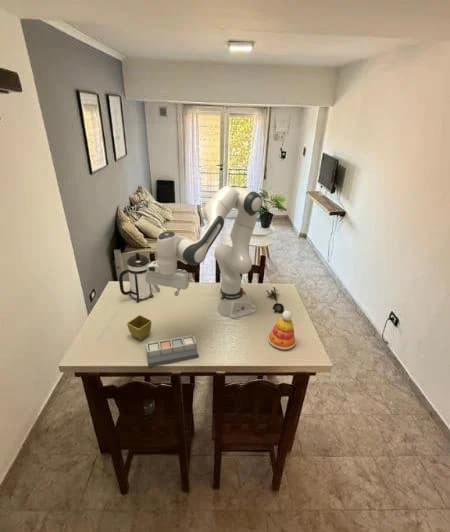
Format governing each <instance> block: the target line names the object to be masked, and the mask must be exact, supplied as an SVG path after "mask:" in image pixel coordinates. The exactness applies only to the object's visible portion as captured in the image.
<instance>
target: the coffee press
mask: <svg viewBox="0 0 450 532" xmlns="http://www.w3.org/2000/svg"><path fill="white" fill-rule="evenodd" d="M150 263H151V260H150V258H149V257H148V256H147V255H144V254H140V252H136V253H135V254H133V255H130V256H128V258H127V260H126V264H127V269H124V270H123V271H121V273H120V274H119V276H118V282H119V290H120V293H121V294H122V295H124V296H129V297H132V298H134V299H136V304H137V303H138V304H139V303H140V301H141V300H142V299H143V300H144V299H147V298H149V297H150V298H151V299H153V297H154V294H153V293H152V284H149V283H147V282H146V280H145V275H146V271H147V266H148V265H149V264H150ZM126 274H128V279H129V287H130V288H129V290H128V291H125V290H124V282H123V277H124V276H125V275H126Z"/></svg>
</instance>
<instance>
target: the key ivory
mask: <svg viewBox="0 0 450 532" xmlns="http://www.w3.org/2000/svg"><path fill="white" fill-rule="evenodd" d="M190 343H193V340H192V338H187V339H184V344H190Z"/></svg>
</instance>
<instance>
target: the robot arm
mask: <svg viewBox="0 0 450 532" xmlns="http://www.w3.org/2000/svg"><path fill="white" fill-rule="evenodd" d="M262 206H263V199H262V195H261V194H260V193H258V192H256V191H253V190H250V189H248V188H246V187H240V186H237V185H225V186H222V187H221V188H220V189H219V190H217V191H216V192H215V193H214V194H213V195H212V196H211V197H210V198H209V199H208V201H207V202H206V203H205V204H204V207H203V215H204V218H205V220H206V221H207V223H208V224H207V227H206V229H205V231H204V232H202V233H203V234H202V235H201V237H200V238H199V239H198V240H193V239H191V238H190V237H188V236H186V235H183V234H182V235H181V234H180V235H179V234H176V233H175V232H174V231H170V230H168V231H163V232H160V233H159V234H158V236H157V240H156V255H157V259H156V260H153V261H150V262H149V265H148V266H147V271H146V275H145V280H146V282H147V283H149V284H151V285H152V286H153V289H154V290H155V293H158V294H159V293H161V288H160V287H159V286H162V287H168V288H173V289H176V290H175V292H174V296H177V297H179V295H180V291H181V290H186V289H187V288H188V287H189V285H190V281H189V280H190V279H189V277H190V273H189V272H188V271H187V270H186V269H180V268H178V264H177V263H178V259H179V258H180V259H182V260H183V261H185V262H186V263H187V264H188V265H190V266H192V267H193V266H198V265H200V264H201V263H202V262H203V261H205V259H206V258H207V257H206V256H207V254H208V252H209V250H210V249H211V247H212V246H213V244H214V242H215V241H216V239H217V238H218V236H219V234H220V233H221V231H222V230H223V228H224V225H225V219H226V217H228V215H229V214H230V213H231V211H232V210H233V209H235V210H237V211H238V213H237V215H236V217H235V220H234V222H233V225H232V228H231V230H230V233H229V237H230V240H231V242H232V243H231V245H232V246H230V245H229V244H224V243H223V244H219V245H217V247H216V248H215V249H214V253H213V256H214V258H215V260H216V261H217V264H218V268H219V273H220V277H221V278H220V279H221V280H220V281H221V282H220V283H221V284H220V286H221V287H220V290H219V303H218V306H217V311H218V313H219V314H220V315H223V316H225V317H229V318H231V319H238V318H241V317H245V316H248V315H250V314H255V313H256V306H255V305H254V303H253V302H252V300H251V298H250V297H249V295H247V292H246V290H244V289H243V287H241V285H242V284H241V283H242V277H241V275H247V273H249V272H250V271H251V269H252V266H253V261H252V259H251V256H250V242H251V239H252V236H253V232H254V230H255V228H256V224H257V220H258V213H259V211H260V210H261V207H262Z"/></svg>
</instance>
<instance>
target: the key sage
mask: <svg viewBox="0 0 450 532" xmlns="http://www.w3.org/2000/svg"><path fill="white" fill-rule="evenodd" d="M149 349H150V351H151V350H156V349H158V344H152V345H149Z"/></svg>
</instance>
